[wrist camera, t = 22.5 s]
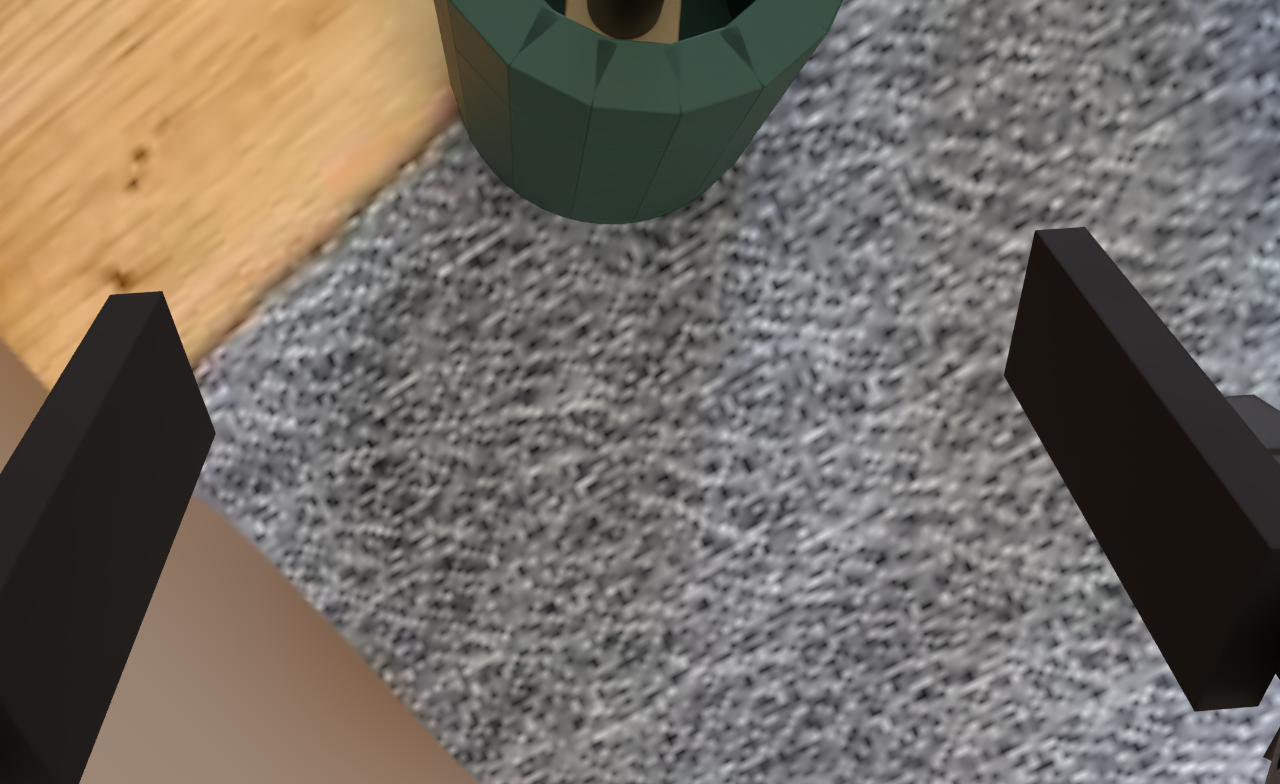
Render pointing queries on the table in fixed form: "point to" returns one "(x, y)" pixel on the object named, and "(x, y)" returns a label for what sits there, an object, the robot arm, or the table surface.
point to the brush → (629, 18)
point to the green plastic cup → (621, 98)
